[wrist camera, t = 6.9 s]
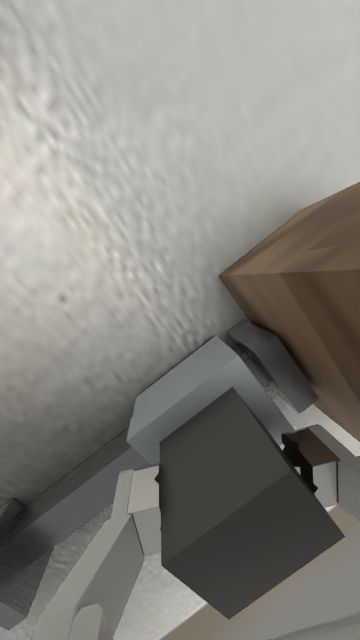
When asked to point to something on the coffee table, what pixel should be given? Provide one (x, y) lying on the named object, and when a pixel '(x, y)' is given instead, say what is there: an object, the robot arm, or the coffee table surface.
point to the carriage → (226, 481)
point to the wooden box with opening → (312, 298)
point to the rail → (112, 480)
